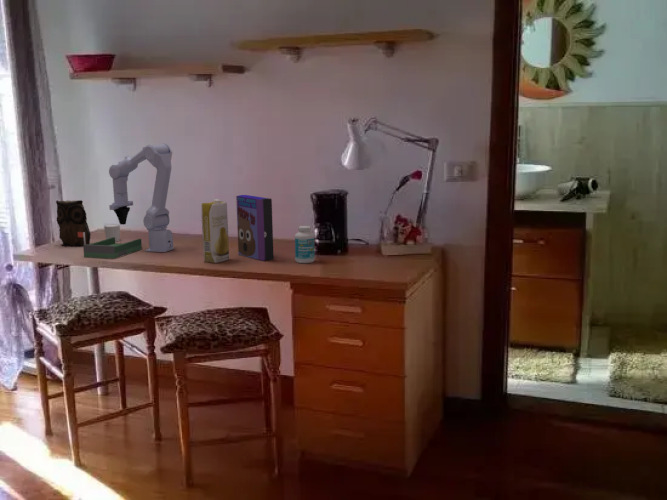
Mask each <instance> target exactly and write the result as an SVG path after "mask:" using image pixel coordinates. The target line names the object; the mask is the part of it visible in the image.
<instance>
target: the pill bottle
mask: <svg viewBox="0 0 667 500" xmlns="http://www.w3.org/2000/svg"><path fill="white" fill-rule="evenodd" d="M311 230H312V228H311V226H309V225H300V226H298V232H296V233H295V235H294V257H295V258H294V261H295V262H296V263H299V264H309V263H310V264H311V263H314V262H315V258H316V255H315V251H316V250H315V234H314V233H313V232H312V231H311Z"/></svg>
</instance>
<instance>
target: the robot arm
mask: <svg viewBox="0 0 667 500" xmlns="http://www.w3.org/2000/svg"><path fill="white" fill-rule="evenodd" d="M172 155H173V150H172V149H171V147H170V146H169V145H168V144H167V143H160V144H147V145H145V146H144V147H142V149H141V150H140V151H139V152H138V153H136V154H134V156H129V155H128V156H127V155H126V156H125V157H124V159H123V160H121V161H118V163H117V164H112V165H110V167H109V169H108V175H109V177H110V178H111V179H112V187H113V202H112V203H111V204H109V205H108V206H109V207H108V208H109V210H110V211H114V214H115V215H116V217H117V220H118V222H119V225H120V226H121V225H123V226H124V225H127V218H128V215H129V212H130V211H131V207H129V206H132V207H133V206H134V200H129V194H128V184H127V183H128V181H129V178H128V177H129V175H130V173H132V172H133V171H135V170H136V169H137V168H138V167H139V164H140V163H142V162H144V161H148V163H149V164H151V165H152V167H154V168H155V169H156V174H155V181H154V182H155V183H154V189H153V192H152V193H153V195H152V200H151V206H150V207H149V208H147V210H146V213H145V215H144V216H143V221H142V222H143V226H144V227H145V228H146V231H148V248H147V249H145V252H154V253H155V252H157V253H166V252H169V251H172V250H174V249H175V247H174V235H173V232H172V230H170V229H167V228H168V226H169V225H170V222H171V221H170V220H171V219H170V211H169V210H168V209H167V208H166V203H167V198H168V193H169V186H170V185H169V184H170V179H171V173H172Z"/></svg>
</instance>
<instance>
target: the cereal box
mask: <svg viewBox="0 0 667 500" xmlns="http://www.w3.org/2000/svg"><path fill="white" fill-rule="evenodd" d="M235 200H236V203H235V204H236V222H237V223H236V227H237V248H238V249H237V250H238V256H240V257H241V256H242V257H245V258H249V259H253V260H256V261H260V262H269V261H274V237H273V236H274V234H273V233H274V231H273V230H274V229H273V200H272V198H269V197H263V196H255V195H250V194H249V195H248V194H240V195H236V196H235Z"/></svg>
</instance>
